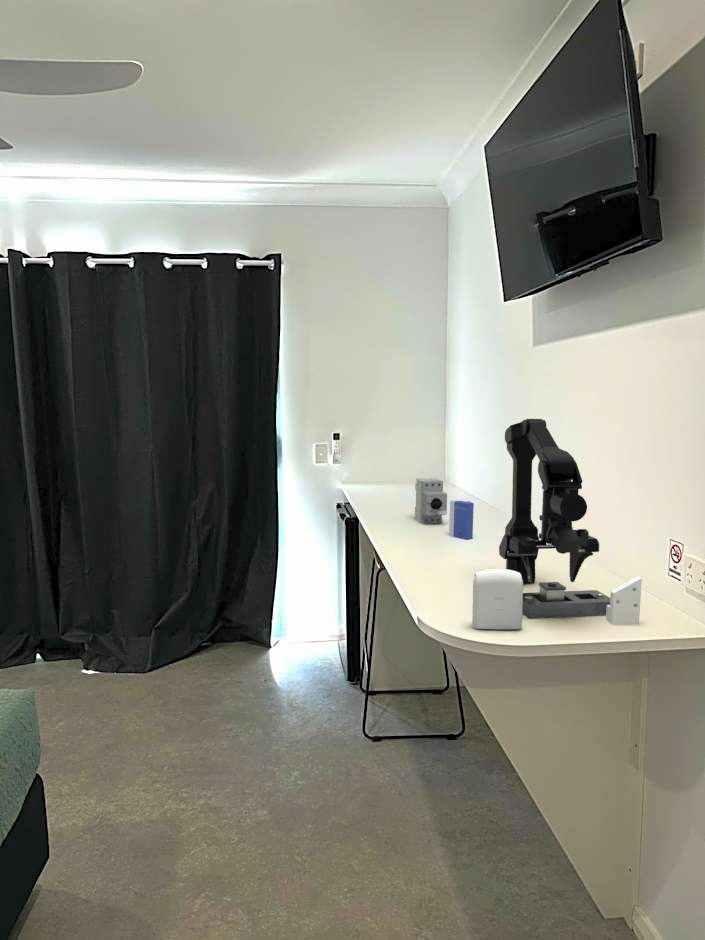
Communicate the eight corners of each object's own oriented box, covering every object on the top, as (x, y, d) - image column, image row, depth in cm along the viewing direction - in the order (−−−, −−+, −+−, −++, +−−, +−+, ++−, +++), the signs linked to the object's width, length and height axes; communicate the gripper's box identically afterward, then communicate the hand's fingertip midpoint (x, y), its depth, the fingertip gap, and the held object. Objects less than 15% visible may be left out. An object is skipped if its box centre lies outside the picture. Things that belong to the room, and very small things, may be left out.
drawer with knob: (537, 608, 170) (538, 581, 170) (556, 607, 171) (557, 580, 170) (545, 614, 166) (546, 586, 165) (564, 613, 167) (565, 585, 166)
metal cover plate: (513, 606, 172) (514, 591, 171) (595, 602, 175) (596, 588, 175) (529, 618, 163) (529, 603, 162) (615, 614, 166) (616, 599, 166)
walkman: (472, 538, 243) (473, 501, 242) (466, 539, 242) (467, 502, 240) (454, 534, 249) (455, 498, 248) (448, 535, 248) (449, 499, 246)
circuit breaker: (427, 527, 262) (428, 484, 260) (414, 519, 275) (415, 478, 274) (448, 526, 263) (449, 483, 262) (434, 518, 277) (435, 478, 275)
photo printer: (473, 630, 155) (474, 571, 154) (470, 623, 159) (472, 566, 158) (523, 631, 155) (526, 572, 153) (519, 624, 159) (522, 567, 157)
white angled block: (660, 613, 160) (641, 578, 159) (618, 636, 160) (599, 601, 159) (652, 607, 163) (634, 573, 162) (611, 630, 164) (593, 596, 163)
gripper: (529, 520, 156) (526, 594, 158) (613, 518, 159) (610, 591, 161) (509, 511, 167) (507, 580, 169) (588, 509, 170) (585, 577, 172)
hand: (552, 582), depth 168 cm, fingers open, 9 cm apart
